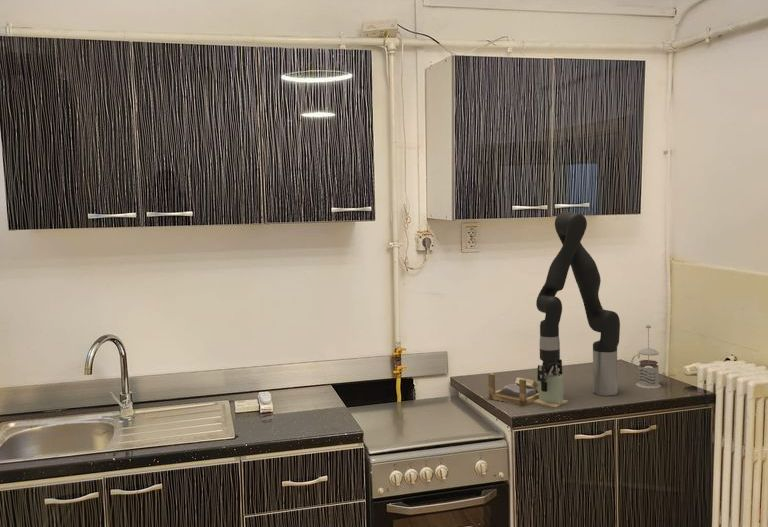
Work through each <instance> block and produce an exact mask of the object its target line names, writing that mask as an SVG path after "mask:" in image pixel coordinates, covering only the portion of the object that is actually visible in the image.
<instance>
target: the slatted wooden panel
mask: <svg viewBox="0 0 768 527" xmlns="http://www.w3.org/2000/svg"><path fill="white" fill-rule="evenodd" d="M566 403H567V404H568V403H569V400H568V399H563V403H561V404H558V403H553V402H548V401H542V400H539V399H537V400H535V401H533V402H532V404H537V405H542V406H545V407H550V408H559V407H560V406H563V405H565V404H566Z"/></svg>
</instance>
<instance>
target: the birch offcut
mask: <svg viewBox="0 0 768 527" xmlns="http://www.w3.org/2000/svg"><path fill="white" fill-rule="evenodd" d="M520 379H524V378H523V377H516V379H515V382H514V384H517V385H518V386H519V380H520ZM525 379H526V388H527V389H528V388H532V389H535V391H536V394H537V393H539V383H537V382H536V381H535V380H533V379H528V378H525Z"/></svg>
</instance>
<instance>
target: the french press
mask: <svg viewBox="0 0 768 527" xmlns="http://www.w3.org/2000/svg"><path fill="white" fill-rule="evenodd" d="M651 327H652V326H651V325H649V324H647V325H646V326H645V328H646V329H647V334H648V335H647V342H648V343H647V347H646V348H641V349H639V350H638V351H637V353H638V354H636V355H634V356H633V357H632V358H631V361H630V363H631V365H630V366H631V368H632V370H633V371H634V372H636V373H637V382H636V383H635V386H636V385H637V386H636V387H639V388H642V389H650V388H652V389H658V388H662V385H661V384H660V383H659V379H660V378H659V377H660V376H659V374H660V372H659V371H660V370H659V368H660V367H659V365H658V363H659V362H658V361H657V360H654V359H650V356H658V355H659V354H660V352H659V351H657V350H656V349H653V348H650V346H649V345H650V343H649V342H650V341H649V336H650V335H649V334H650V333H649V332H650V331H649V330H650V329H651ZM641 355H643V356H647V359H641V360H639V361H638V362H639V365H638V368H635V365H634V364H633V361H634V359H635V357H637V358H638V359H640V356H641Z"/></svg>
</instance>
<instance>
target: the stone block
mask: <svg viewBox="0 0 768 527" xmlns="http://www.w3.org/2000/svg"><path fill="white" fill-rule="evenodd" d="M514 384H515V383H513V384H511V383H510V384H506V385H505V386H503V387H502V388H501V389H502V395H507V396H512V397H517V398H520V389H519V386H518V385H514ZM535 394H537V392H536V391H535V389H532V388H528V389H527V388H526V398H528V397H530V396H533V395H535Z"/></svg>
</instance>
